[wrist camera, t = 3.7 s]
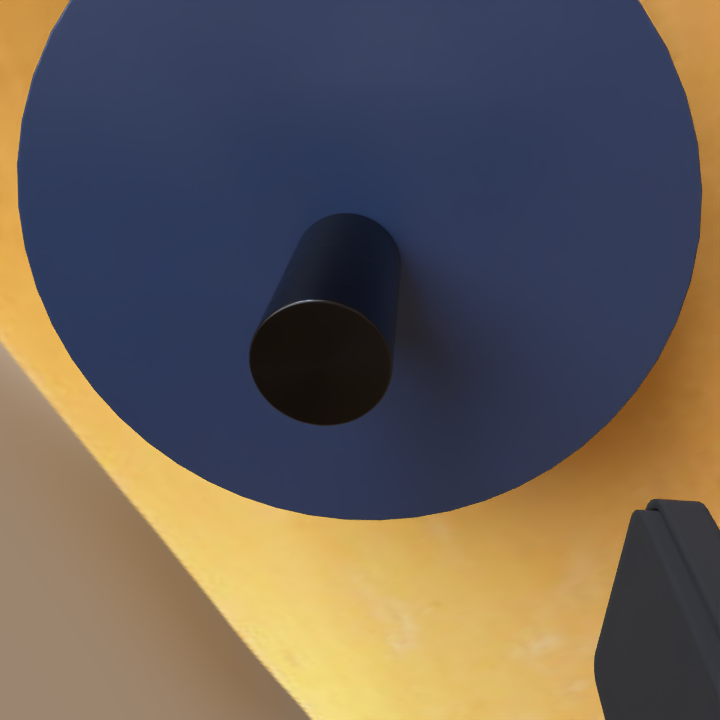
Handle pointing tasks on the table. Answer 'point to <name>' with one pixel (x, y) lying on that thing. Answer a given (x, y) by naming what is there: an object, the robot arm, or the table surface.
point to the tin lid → (361, 234)
